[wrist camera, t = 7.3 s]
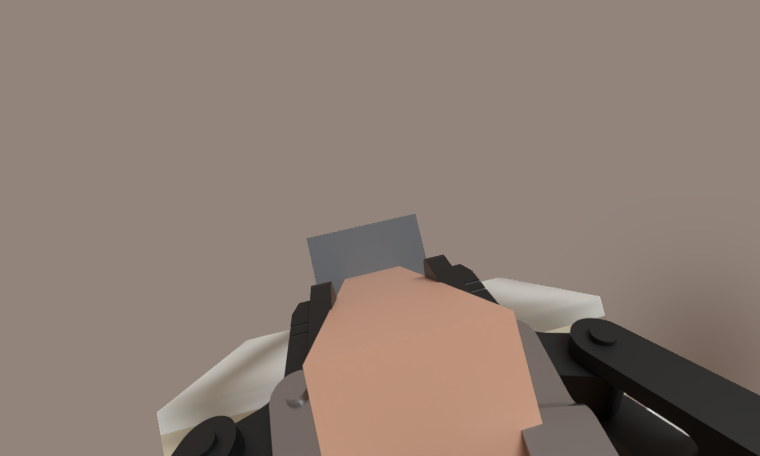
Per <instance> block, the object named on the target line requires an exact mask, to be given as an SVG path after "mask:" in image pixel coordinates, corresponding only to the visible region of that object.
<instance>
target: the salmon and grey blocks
mask: <svg viewBox="0 0 760 456" xmlns="http://www.w3.org/2000/svg"><path fill="white" fill-rule="evenodd" d="M307 242H308V246H309V251H310V256H311V260H312V265H313V269H314V274H315V279H316V283H317V284H321V283H325V282H330V281H332V284H333V287H334V290H335V293H336V297H337V299H336V301H335V304H334V306H333V308H332V309H331V310H330V311H329V313H328V315H327V317H326V319H325V321H324V323H323V325H322V327H321V329H320V331H319V333H318V335H317V337H316V339H315V341H314V344H313V346H312V348H311V350H310V352H309V354H308V356H307V358H306V360H305V362H304V364H303V371H304V375H305V380H306V385H307V390H308V394H309V399H310V404H311V408H312V413H313V418H314V423H315V427H316V432H317V437H318V441H319V446H320V451H321V456H525V450H524V443H523V437H522V430H524V429H527V428H530V427H534V426H537V425H540V424H542V420H541V416H540V412H539V408H538V404H537V400H536V396H535V392H534V388H533V385H532V381H531V377H530V373H529V369H528V365H527V361H526V357H525V353H524V349H523V345H522V341H521V337H520V334H519V330H518V326H517V322H516V318H515V314H514V311H513V310H511V309H508V308H506V307H503V306H500V305H498V304H495V303H493V302H490V301H488V300H485V299H483V298H480V297H477V296H475V295H472V294H470V293H467V292H465V291H462V290H459V289H457V288H454V287H452V286H449V285H447V284H444V283H442V282H440V283H439V282H436V281H434V280H431V279H429V278H427V277H425V273H424V265H423V260H424V259H426V256H425V252H424V248H423V244H422V240H421V236H420V232H419V227H418V223H417V219H416V215H415V214H413V215H408V216H404V217H399V218H395V219H390V220H386V221H382V222H377V223H373V224H368V225H364V226H359V227H355V228H351V229H347V230H342V231H338V232H333V233H329V234H324V235H320V236H316V237H311V238H307Z"/></svg>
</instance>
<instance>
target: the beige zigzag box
mask: <svg viewBox="0 0 760 456" xmlns="http://www.w3.org/2000/svg"><path fill="white" fill-rule="evenodd" d="M481 283H482V284H483V285H484V286H485V289H487V290H488V291H489V292H490V294H491V295H492V296H493V297H494V299H495V300H496V301H497V302H498V303H499V305H500V306H503V307H506V308H508V309H511V310H513V311H514V314H515V318H516V319H517V320H520V321H522V322H524V323H526V324H527V325H529V326H530V327H531V328H532V329H533V330H534V331H536V332H545V333H570V328H571V326H572V324H573V323H574V322H576V321H577V320H580V319H584V318H598V319H603V320H606V318H605V314H604V310H603V306H602V303H601V299H600V297H599V296H594V295H589V294H584V293H579V292H574V291H568V290H563V289H558V288H553V287H548V286H542V285H537V284H531V283H526V282H521V281H516V280H511V279H505V278H495V279H492V280H488V281H484V282H481ZM289 335H290V330H287V331H283V332H278V333H274V334H271V335H267V336H262V337H258V338H254V339H250V340H247V341H246V342H244V343H243V344H242V345H241V346H239V347H238V348H237V349H236V350H234V351H233V352H232V353H231V354H229V355H228V356H227V357H226V358H224V359H223V360H222V361H221V362H219V363H218V364H217V365H216V366H214V367H213V368H212V369H211V370H209V371H208V372H207V373H206V374H204V375H203V376H202V377H201V378H199V379H198V380H197V381H196V382H195V383H193V384H192V385H191V386H189V387H188V388H187V389H186V390H185V391H183V392H182V393H181V394H179V395H178V396H177V397H176V398H174V399H173V400H172V401H171V402H169V403H168V404H167V405H166V406H164V407H163V408H162V409H161V410H159V411H158V412H157V418H158V423H159V428H160V434H161V440H162V445H163V451H164V456H171V455H172V453H173V452H174V451H175V449H176V448H177V446H178V445H179V443H180V442H181V441H182V440H183V438H184V437H185V436H186V435H187V434H188V433H189V432H190V431H191V430H192V429H193V428H194V427H196V426H197V425H198V424H200V423H201V422H203V421H205V420H207V419H209V418H211V417H215V416H228V417H230V418H231V419H232V420H233V421H234V422H235V423H236V422H238V421H240V420H241V419H243V418H245V417H247V416H248V415H250V414H252V413H254V412H255V411H257V410H259V409H260V408H262V407H263V406H265V405H266V404H267V403H268V402H269V401H270V397H271V394H272V392H273V390H274V388H275V387H276V386H277V384H278V383H279V382H280V381H281V380H282V379H283V378H284V373H285V366H286V358H287V350H288V343H289V338H290V336H289ZM624 395H626V393H624ZM626 396H627V395H626Z"/></svg>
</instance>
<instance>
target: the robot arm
mask: <svg viewBox="0 0 760 456" xmlns="http://www.w3.org/2000/svg"><path fill="white" fill-rule="evenodd" d="M423 265H424V273H425V277H427V278H429V279H431V280H434V281H436V282H439V283H440V282H442V283H444V284H447V285H449V286H452V287H454V288H457V289H459V290H462V291H465V292H467V293H470V294H472V295H475V296H477V297H480V298H483V299H485V300H488V301H490V302H493V303H495V304H498V305H499V303H498V302H497V301H496V300H495V299H494V297H493V296H492V295H491V294H490V292H489V291H488V290H487V289H485V286H484V285H483V284H482V283H481V281H479V279H478V278H477V276H476V275H475V274H474V273H473V271H471V270H470V269H468V268H466V267H464V266H463V265H461V264H459V265H455V266H451V264H450V263H449V261H448V260H447V259H446V257H445V256H444V255H439V256H435V257H431V258H427V259H424V260H423ZM336 299H337V297H336V293H335V290H334V287H333V284H332V281H330V282H325V283H321V284H317V285H313V286H311V295H310V301H306V302H302V303H299V304H298V306H297V308H296V309H295V311H294V312H293V314H292V320H291V329H290V335H289V336H290V338H289V343H288V350H287V358H286V366H285V373H284V378H283V379H282V380H281V381H280V382H279V383H278V384H277V386H276V387H275V388H274V390H273V392H272V394H271V397H270V401H269V402H268V403H267V404H266V405H265V406H263V407H262V408H260V409H259V410H257V411H255V412H254V413H252V414H250V415H248V416H247V417H245V418H243V419H241V420H240V421H238V422H236V423H235V422H234V421H233V420H232V419H231V418H230V417H228V416H215V417H211V418H209V419H207V420H205V421H203V422H201V423H200V424H198V425H197V426H196V427H194V428H193V429H192V430H191V431H190V432H189V433H188V434H187V435H186V436H185V437H184V438H183V440H182V441H181V442H180V443H179V445H178V446H177V448H176V449H175V451H174V452H173V453H172V455H171V456H321V451H320V446H319V441H318V437H317V432H316V427H315V423H314V418H313V413H312V408H311V404H310V399H309V394H308V390H307V385H306V380H305V375H304V371H303V364H304V362H305V360H306V358H307V356H308V354H309V352H310V350H311V348H312V346H313V344H314V341H315V339H316V337H317V335H318V333H319V331H320V329H321V327H322V325H323V323H324V321H325V319H326V317H327V315H328V313H329V311H330V310H331V309H332V308H333V306H334V304H335V301H336ZM516 322H517V326H518V330H519V334H520V337H521V341H522V345H523V349H524V353H525V357H526V361H527V365H528V369H529V373H530V377H531V381H532V385H533V388H534V392H535V396H536V400H537V404H538V408H539V412H540V416H541V420H542V424H540V425H537V426H534V427H530V428H527V429H524V430H522V437H523V443H524V450H525V456H760V396H759V395H758V394H756V393H754V392H751V391H749V390H747V389H745V388H743V387H741V386H739V385H737V384H735V383H733V382H731V381H729V380H727V379H725V378H723V377H721V376H719V375H717V374H715V373H713V372H711V371H709V370H707V369H705V368H703V367H701V366H699V365H697V364H695V363H693V362H691V361H689V360H687V359H685V358H683V357H681V356H679V355H677V354H675V353H673V352H671V351H669V350H667V349H665V348H663V347H661V346H659V345H657V344H655V343H653V342H651V341H649V340H647V339H645V338H643V337H641V336H639V335H637V334H635V333H633V332H631V331H629V330H627V329H625V328H623V327H621V326H619V325H616V324H614V323H612V322H610V321H607V320H603V319H598V318H584V319H580V320H577V321H576V322H574V323H573V324H572V326H571V328H570V333H545V332H536V331H534V330H533V329H532V328H531V327H530V326H529V325H527V324H526V323H524V322H522V321H520V320H517V319H516ZM624 393H626V394H627V395H629V396H630V397H632V398H634V399H635V400H637V401H638V402H640V403H641V404H643V405H644V406H646V407H648V408H649V409H651V410H652V411H654V412H655V413H657V414H658V415H660V416H662V417H663V418H665V419H666V420H668V421H669V422H671V423H672V424H674V425H676V426H677V427H679V428H680V429H681V430H683V431H684V432H685V433H687V434H688V435H689V436H690V437H689V436H687V435H686V434H684V433H683V432H681V431H679V430H678V429H676V428H675V427H673V426H672V425H670V424H669V423H667V422H666V421H664V420H663V419H661V418H659V417H658V416H656V415H655V414H653V413H652V412H650V411H649V410H647V409H646V408H644V407H642V406H641V405H639V404H638V403H636V402H635V401H633V400H632V399H630V398H629V397H627V396H626V395H624Z"/></svg>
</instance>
